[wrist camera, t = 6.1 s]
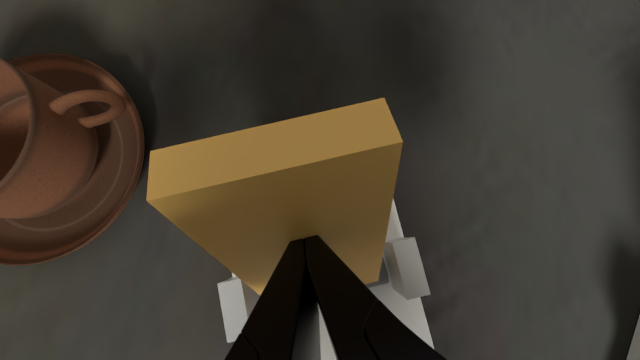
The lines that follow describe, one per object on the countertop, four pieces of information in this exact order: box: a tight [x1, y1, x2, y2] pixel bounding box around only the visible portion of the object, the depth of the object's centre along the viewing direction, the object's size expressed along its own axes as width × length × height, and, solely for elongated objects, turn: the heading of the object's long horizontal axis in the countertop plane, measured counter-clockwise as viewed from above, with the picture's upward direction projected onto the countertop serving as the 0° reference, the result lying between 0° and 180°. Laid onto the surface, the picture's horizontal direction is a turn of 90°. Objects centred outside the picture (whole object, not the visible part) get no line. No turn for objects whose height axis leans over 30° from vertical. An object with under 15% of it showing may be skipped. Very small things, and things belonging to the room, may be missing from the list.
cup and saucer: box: [0, 53, 144, 265], centre depth 17 cm, size 12×12×6 cm
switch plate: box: [217, 199, 435, 360], centre depth 16 cm, size 10×9×5 cm
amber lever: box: [146, 98, 403, 297], centre depth 12 cm, size 1×6×12 cm, turn 104°
